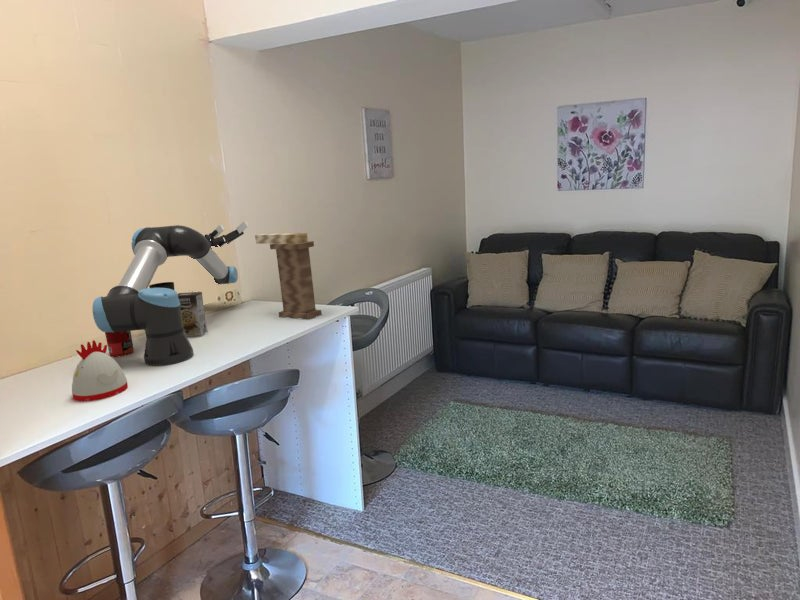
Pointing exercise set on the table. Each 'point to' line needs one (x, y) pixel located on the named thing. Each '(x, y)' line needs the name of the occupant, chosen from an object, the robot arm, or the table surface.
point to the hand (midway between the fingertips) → (234, 225)
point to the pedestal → (296, 280)
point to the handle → (281, 238)
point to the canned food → (119, 343)
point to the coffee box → (193, 314)
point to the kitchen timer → (97, 375)
